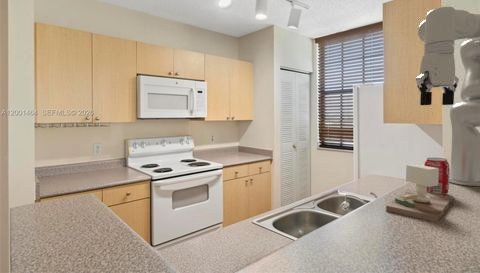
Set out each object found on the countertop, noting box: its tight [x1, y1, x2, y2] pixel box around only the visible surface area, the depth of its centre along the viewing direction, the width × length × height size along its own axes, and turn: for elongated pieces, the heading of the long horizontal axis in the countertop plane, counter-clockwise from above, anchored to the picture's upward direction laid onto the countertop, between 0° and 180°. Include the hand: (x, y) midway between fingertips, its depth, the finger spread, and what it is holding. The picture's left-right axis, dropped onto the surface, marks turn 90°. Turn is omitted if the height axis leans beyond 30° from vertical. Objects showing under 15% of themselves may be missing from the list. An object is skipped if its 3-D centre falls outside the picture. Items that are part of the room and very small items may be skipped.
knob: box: [403, 163, 439, 203], centre depth 79 cm, size 9×7×10 cm
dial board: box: [385, 189, 454, 223], centre depth 80 cm, size 22×12×2 cm, turn 133°
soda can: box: [423, 157, 450, 196], centre depth 92 cm, size 7×7×12 cm
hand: (436, 105), depth 85 cm, fingers open, 9 cm apart
